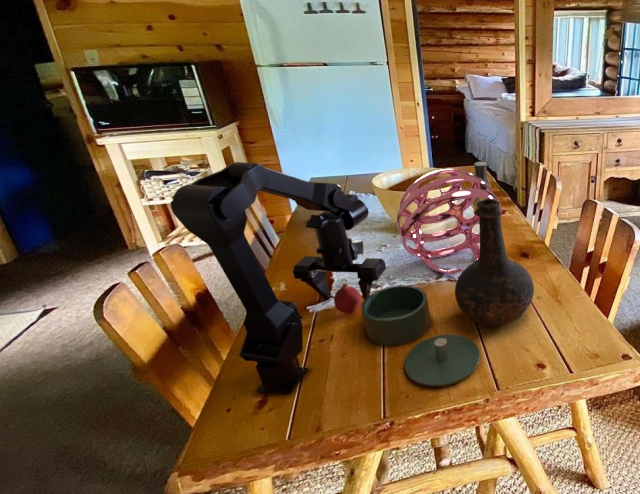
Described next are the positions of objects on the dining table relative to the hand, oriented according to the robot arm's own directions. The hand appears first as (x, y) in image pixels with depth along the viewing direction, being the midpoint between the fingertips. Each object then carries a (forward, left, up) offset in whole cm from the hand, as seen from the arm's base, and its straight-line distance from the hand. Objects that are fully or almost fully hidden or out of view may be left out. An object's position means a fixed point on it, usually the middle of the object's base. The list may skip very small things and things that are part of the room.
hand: (347, 300), depth 101 cm
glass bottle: (+2, -34, -4) cm, 34 cm away
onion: (0, 0, -4) cm, 4 cm away
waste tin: (-4, -13, -4) cm, 14 cm away
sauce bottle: (+56, -21, -4) cm, 60 cm away
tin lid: (-15, -26, -3) cm, 30 cm away
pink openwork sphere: (+27, -18, -4) cm, 33 cm away
